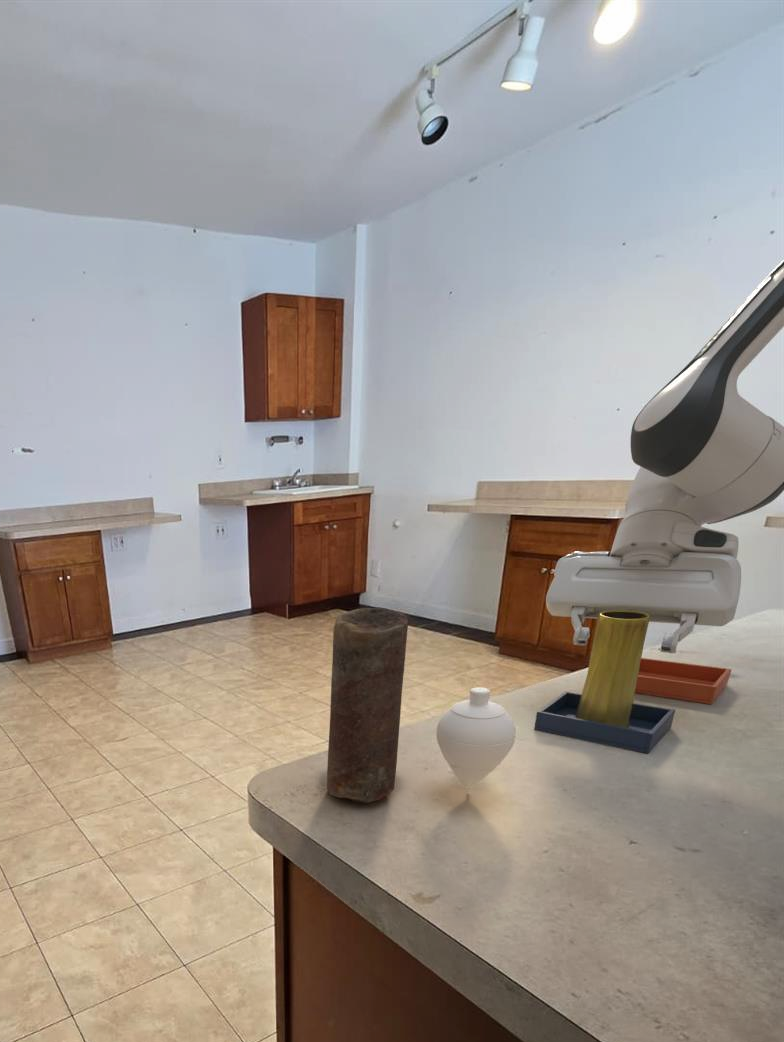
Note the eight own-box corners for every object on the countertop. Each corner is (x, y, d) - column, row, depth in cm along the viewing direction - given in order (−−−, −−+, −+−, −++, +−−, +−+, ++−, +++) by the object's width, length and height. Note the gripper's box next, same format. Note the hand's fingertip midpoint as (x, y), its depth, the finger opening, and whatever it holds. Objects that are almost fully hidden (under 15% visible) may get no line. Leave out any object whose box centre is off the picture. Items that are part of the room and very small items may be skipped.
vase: (586, 713, 86) (607, 607, 80) (636, 723, 82) (662, 612, 76) (566, 725, 83) (586, 616, 77) (617, 737, 79) (643, 622, 72)
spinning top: (438, 774, 74) (447, 675, 69) (509, 784, 71) (525, 681, 65) (424, 803, 68) (433, 697, 63) (502, 816, 65) (518, 705, 60)
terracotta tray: (726, 685, 93) (731, 668, 92) (711, 704, 87) (716, 687, 86) (626, 671, 102) (629, 656, 101) (605, 688, 96) (609, 672, 95)
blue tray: (670, 728, 81) (675, 709, 80) (648, 753, 75) (653, 734, 74) (562, 708, 90) (565, 691, 89) (533, 729, 84) (536, 711, 83)
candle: (405, 787, 72) (418, 609, 63) (382, 816, 66) (392, 625, 58) (342, 774, 76) (346, 605, 67) (315, 800, 70) (316, 620, 62)
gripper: (559, 536, 85) (529, 626, 82) (756, 536, 73) (728, 640, 70) (562, 566, 90) (533, 651, 87) (746, 569, 78) (720, 668, 75)
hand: (622, 646), depth 79 cm, fingers open, 8 cm apart
